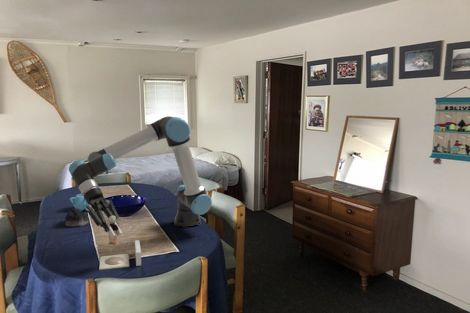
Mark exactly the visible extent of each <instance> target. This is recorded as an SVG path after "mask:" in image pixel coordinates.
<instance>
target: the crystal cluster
mask: <svg viewBox="0 0 470 313" xmlns="http://www.w3.org/2000/svg"><path fill="white" fill-rule="evenodd" d="M64 220H65V224H64V225H65V226H66V227H79V226H80V227H81V226H85V225H87V224H88V223H89V220H90V219H89V216H88V215H87V214H85V213H84V212H80V210H78V209H75V208H72V209H70V211H69V212H68V213H67V214H66V215H65V219H64Z"/></svg>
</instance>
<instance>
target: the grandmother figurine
mask: <svg viewBox="0 0 470 313" xmlns="http://www.w3.org/2000/svg"><path fill="white" fill-rule="evenodd" d="M115 221H116V217H115V216H110V217H109V218H107V223H109V225H110V226H111V228H112V230H113V231H114V233H115V236H114V237H113V238H112V239H111V238H110V236H109V235H108V243H107V244H108V245H109V246H110V245H112V246H117V245H119V244H120V243H119V241H118V239H117V237H118V236H117V234H120V232H119V228H120V227H119V228H118V226H117V225H116V224H114V223H115ZM103 231H104V232H106V231H105V230H104V229H103ZM116 231H117V234H116Z"/></svg>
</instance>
